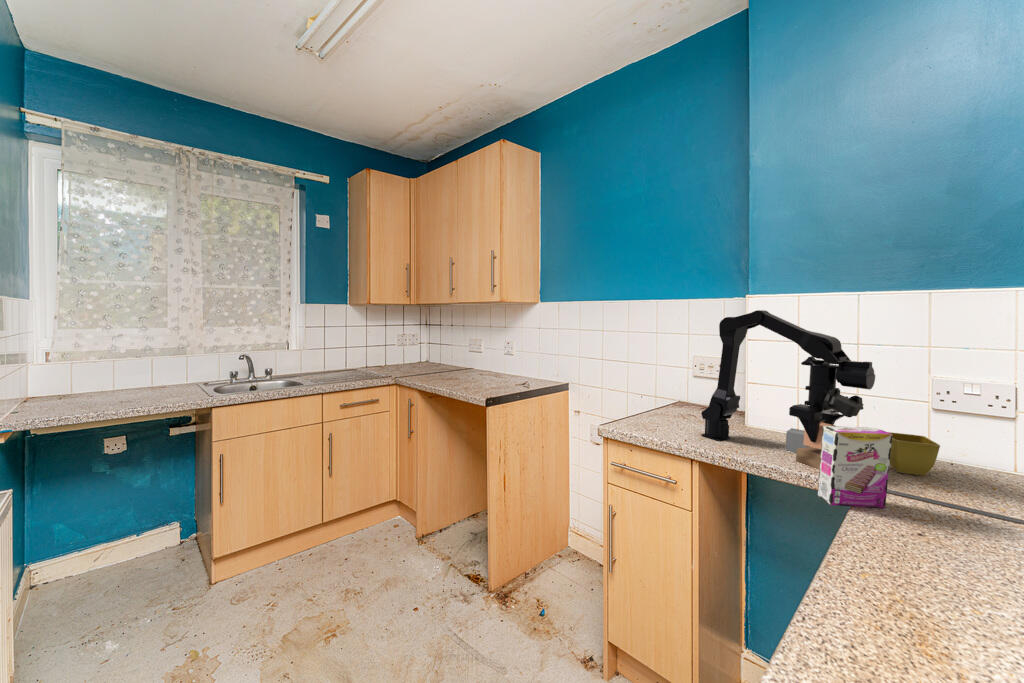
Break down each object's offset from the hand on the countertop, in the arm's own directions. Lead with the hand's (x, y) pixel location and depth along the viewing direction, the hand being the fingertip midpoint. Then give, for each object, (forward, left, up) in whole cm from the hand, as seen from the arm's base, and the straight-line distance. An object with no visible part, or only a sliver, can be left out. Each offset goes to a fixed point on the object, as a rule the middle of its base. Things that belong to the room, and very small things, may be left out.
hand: (818, 440), depth 113 cm
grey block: (-9, +7, -7) cm, 13 cm away
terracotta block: (0, 0, -2) cm, 2 cm away
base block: (0, 0, -7) cm, 7 cm away
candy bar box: (+16, -18, -7) cm, 25 cm away
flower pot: (+13, +16, -7) cm, 22 cm away
